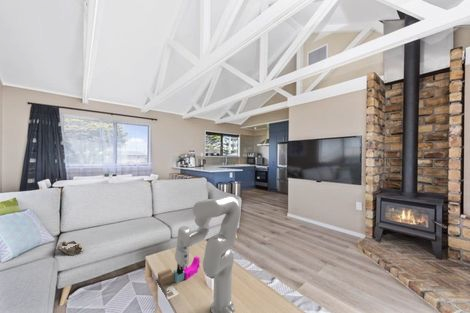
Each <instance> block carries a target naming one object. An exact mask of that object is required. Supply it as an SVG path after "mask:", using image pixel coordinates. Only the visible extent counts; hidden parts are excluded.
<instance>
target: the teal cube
mask: <svg viewBox="0 0 470 313" xmlns="http://www.w3.org/2000/svg"><path fill="white" fill-rule="evenodd" d="M173 273H174V282H175V283H176V284H178V283H180V282H182V281H184V280H185V279H184V273H185V272H184V271H183V273H182V274H180V275H178V273H177V268H176V269H174V270H173Z"/></svg>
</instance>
